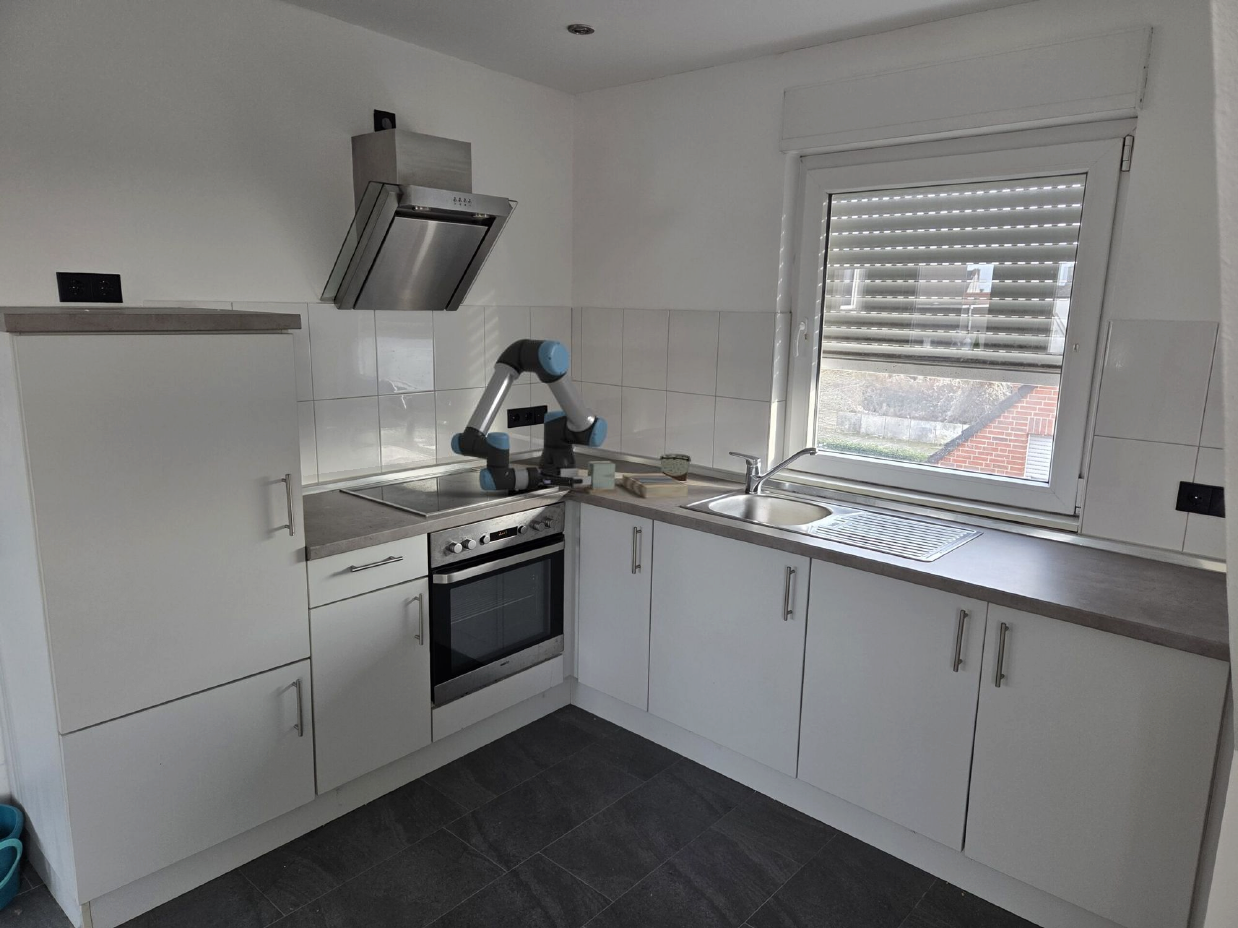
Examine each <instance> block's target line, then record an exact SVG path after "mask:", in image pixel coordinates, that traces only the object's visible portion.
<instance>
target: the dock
mask: <svg viewBox="0 0 1238 928" xmlns="http://www.w3.org/2000/svg"><path fill="white" fill-rule="evenodd" d="M621 478H622V480H621V485H622V486H623V487H625V488H627V489H628V490H630V491H632V492H633V493H635V494H637V495H639V496H641V497H642V498H644V499H664V498H665V499H666V498H684V497H687V498H688V491H689V490H688V489H689V485H688V484H686V483H685V482H679V481H677V480H675V479H673V478H671V477H669V476H667V475H665V474H662V473H661V472H657V473H656V472H655V473H625V474H622V477H621Z"/></svg>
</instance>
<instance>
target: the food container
mask: <svg viewBox="0 0 1238 928" xmlns="http://www.w3.org/2000/svg"><path fill="white" fill-rule="evenodd" d="M659 461H660V468H661V469H660V470H661V471H660V473H662V474H665V475H667V476H669V477H671V478H673V479H675V480H677V481H686V482H687V480H688V474H689V467H690V463H692V458H691V456H690V455H687V454H683V453H662V454H660V456H659Z"/></svg>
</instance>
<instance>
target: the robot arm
mask: <svg viewBox="0 0 1238 928" xmlns="http://www.w3.org/2000/svg"><path fill="white" fill-rule="evenodd" d="M570 363H571V359H570V352H569V349H568V348H567V347H566V346H565V344H563V343H562V342H560V341H555V340H552V339H549V340H544V339H530V338H522V339H519V340H516V341H514V342H512V343H510V345H508V346H507V347H506V348H505V349H504V350H503V351H502V352H501V354H500V355H499V357H498V358H497V360H496V361H495V363H494V364H493V365H494V366H493V368H494V372H493V374H492V376H491V378H490V380H489V381H488V383H487V386H486V387H485V389H484V391H483V393H482V395H481V397H480V399H479V401H478V402H477V405H476V406H475V409H474V411H473V413H472V414H471V416H470V418H469V420H468V422H467V424H466V426H465V428H464V430H463V432H457V433H455V434H453V436H452V438H451V441H450V447H451V450H452V452H453V453H454V454H456V455H460V456H463V457H471V458H477V459H483V460H486V467H484V468H481V469H480V470H479V475H478V478H479V479H478V481H479V486H480V488H481V490H482V491H494V492H496V491H511V490H513V491H514V490H515V491H516V492H519V490H525V489H526V490H537V489H538V488H539V485H540V484H542V485H543V486H553V487H554V486H558V487H570V488H573V489H574V486H579V485H580V486H582V485H583V486H585V485H586V486H587V485H589V484H591V476H588V475H587V476H579V468H577V462H576V458H575V454H574V451H573V445H575V446H582V447H588V448H598V447H601V446H602V445H603V443H604V442H605V440H606V436H607V433H608V423H607V420H606V419H605V418H602V417H597V415H596V414H595V411H594V410H593V409H591V408H589V407H588V406H587V405H586V403H585V402H584V400H583V398H582V396H581V395H580V393H579V391H578V389H577V387H576V385H575V383H574V382H573V380H572V378H571V375H569V372H568V371H569V368H570ZM525 372H527V373H534V374H535V375H536V376H537V378H538V380H539V381H540V382H541V383H542V384H546V385H547V386H548V388H549V390H550V391H551V394H552V395H553V396H554V398H555V400H556V403H557V404H558V405H559V407H560V408H561V409H560V410H554V411H547V412H546V413H545V414H544V417H543V418H544V420H543V421H544V422H543V449H542V450H541V451H542V452H541V455H540V457H539V460H538V468H537V467H535V466H529V467H528V466H527V467H524V466H521V467H518V466H517V467H510V449H511V446H510V436H509V434H508V433H506V432H503V431H502V432H499V431H493V432H492V431H491V432H490V431H489V430H490V429H491V427H492V425H493V423H494V421H495V419H496V417H497V415H498V413H499V411H500V409H501V407H502V405H503V403H504V402H505V399H506V397H507V395H508V394H509V392H510V389H511V387H512V385H513V384H514V381H517V380H518V379H519V378H520V376H521V374H523V373H525Z"/></svg>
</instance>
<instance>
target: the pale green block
mask: <svg viewBox="0 0 1238 928" xmlns="http://www.w3.org/2000/svg"><path fill="white" fill-rule="evenodd" d="M615 475H616V464H615V463H614V462H612V461H609V460H601V461H598V460H596V461H595V460H594V461H588V462H587V476H591V484H589V485H586V486H585V485H584V491H585V492H586V493H588V494H589V495H601V494H602V495H603V494H617V493H618V491H617V490H618V489H617V488H615V481H616V480H615V477H616V476H615Z"/></svg>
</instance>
